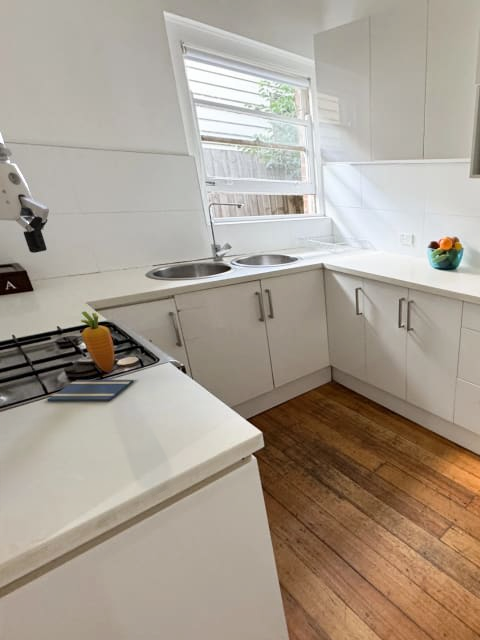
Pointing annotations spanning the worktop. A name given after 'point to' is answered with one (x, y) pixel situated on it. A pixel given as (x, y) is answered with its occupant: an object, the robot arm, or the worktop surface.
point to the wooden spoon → (115, 361)
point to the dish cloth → (91, 390)
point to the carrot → (98, 343)
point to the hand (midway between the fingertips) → (12, 250)
